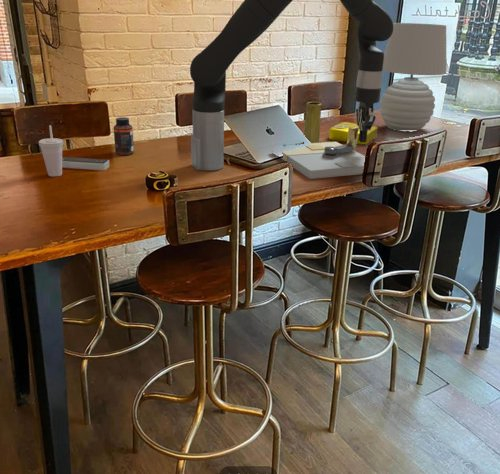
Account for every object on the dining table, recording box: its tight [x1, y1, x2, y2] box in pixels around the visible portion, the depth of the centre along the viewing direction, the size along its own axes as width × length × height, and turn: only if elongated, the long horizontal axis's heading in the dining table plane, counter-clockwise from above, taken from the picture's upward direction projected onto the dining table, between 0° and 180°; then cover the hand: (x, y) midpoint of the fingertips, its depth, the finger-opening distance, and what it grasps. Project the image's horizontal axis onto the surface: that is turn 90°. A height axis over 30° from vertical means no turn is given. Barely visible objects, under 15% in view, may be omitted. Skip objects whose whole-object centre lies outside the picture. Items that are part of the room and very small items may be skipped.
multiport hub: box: [62, 156, 110, 171], centre depth 155 cm, size 4×14×2 cm, turn 83°
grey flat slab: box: [282, 141, 365, 180], centre depth 166 cm, size 24×28×3 cm
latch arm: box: [324, 127, 359, 156], centre depth 165 cm, size 14×4×7 cm, turn 130°
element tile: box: [328, 121, 378, 145], centre depth 197 cm, size 15×15×5 cm
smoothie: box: [38, 124, 64, 177], centre depth 144 cm, size 6×6×14 cm
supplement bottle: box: [113, 116, 135, 156], centre depth 167 cm, size 6×6×11 cm
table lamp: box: [379, 22, 447, 131], centre depth 205 cm, size 25×25×40 cm
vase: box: [303, 101, 323, 143], centre depth 186 cm, size 6×6×14 cm
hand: (362, 141), depth 166 cm, fingers closed
